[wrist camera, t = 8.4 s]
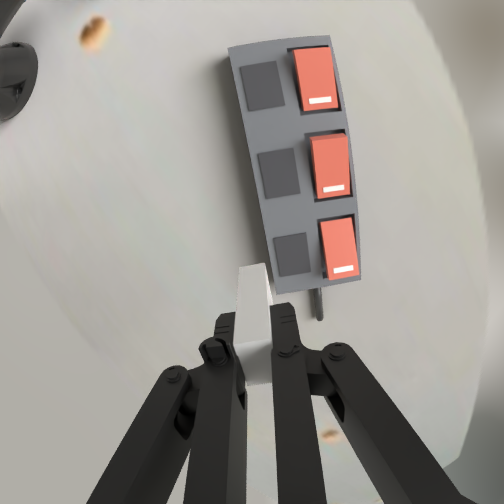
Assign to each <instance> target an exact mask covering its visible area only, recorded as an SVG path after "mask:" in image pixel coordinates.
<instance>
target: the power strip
mask: <svg viewBox="0 0 504 504" xmlns="http://www.w3.org/2000/svg"><path fill="white" fill-rule="evenodd" d="M322 47H330V49H331V56H332V62H333V69H334V77H335V85H336V93H337V102H338V108H327V109H318V110H309V111H304V110H303V109H302V107H301V100H300V94H299V88H298V82H297V76H296V70H295V64H294V58H293V53H292V50H297V49H308V48H322ZM228 52H229V57H230V61H231V66H232V71H233V75H234V80H235V85H236V89H237V94H238V99H239V104H240V109H241V113H242V118H243V123H244V128H245V133H246V138H247V143H248V148H249V153H250V158H251V163H252V168H253V173H254V178H255V183H256V188H257V193H258V198H259V203H260V209H261V214H262V219H263V224H264V230H265V235H266V240H267V245H268V251H269V256H270V262H271V267H272V273H273V278H274V283H275V289H276V295H278V294H284V293H290V292H296V291H302V290H308V289H314V297H315V308H316V318H317V320H318V321H322V320H323V306H322V294H321V287H325V286H331V285H336V284H342V283H347V282H352V281H357V280H361V260H360V236H359V219H358V206H357V194H356V184H355V174H354V165H353V157H352V149H351V142H350V135H349V128H348V122H347V116H346V110H345V104H344V98H343V93H342V88H341V83H340V78H339V73H338V68H337V64H336V59H335V55H334V51H333V47H332V43H331V39H330V35H325V36H308V37H296V38H287V39H278V40H270V41H263V42H257V43H251V44H245V45H240V46H235V47H230V48H228ZM340 133H344V134H345V135H346V136H347V138H348V155H349V178H350V194H347V195H340V196H333V197H327V198H320V199H318V198H317V196H316V193H315V183H314V173H313V164H312V155H311V146H310V138H309V137H314V136H322V135H331V134H340ZM344 218H352V225H353V231H354V238H355V244H356V252H357V259H358V267H359V275H356V276H351V277H345V278H340V279H335V280H328V279H327V272H326V265H325V258H324V252H323V245H322V239H321V233H320V226H319V222H326V221H332V220H338V219H344Z"/></svg>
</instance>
